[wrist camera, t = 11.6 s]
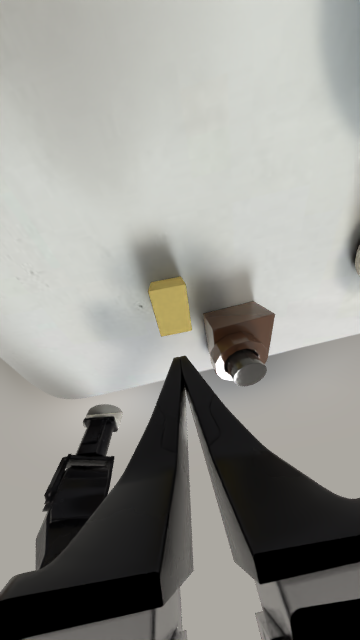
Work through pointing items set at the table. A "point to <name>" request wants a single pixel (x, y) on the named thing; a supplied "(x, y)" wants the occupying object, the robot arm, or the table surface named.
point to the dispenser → (237, 333)
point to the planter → (357, 261)
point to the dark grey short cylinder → (245, 367)
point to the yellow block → (170, 305)
